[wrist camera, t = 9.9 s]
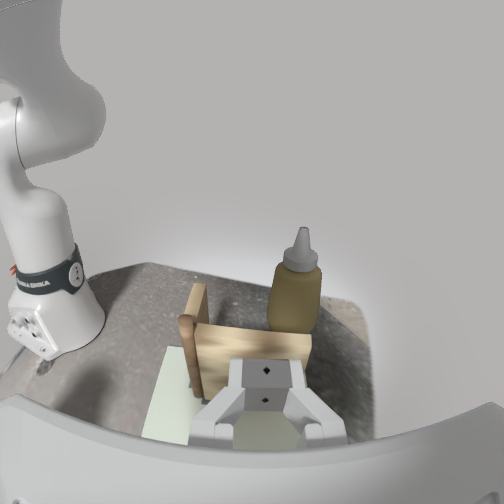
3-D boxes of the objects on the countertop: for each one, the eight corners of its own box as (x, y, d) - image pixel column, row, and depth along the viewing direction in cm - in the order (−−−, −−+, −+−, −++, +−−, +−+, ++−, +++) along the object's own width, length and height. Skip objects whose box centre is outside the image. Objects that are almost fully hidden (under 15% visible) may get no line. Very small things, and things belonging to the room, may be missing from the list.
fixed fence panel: (194, 387, 32) (181, 321, 27) (201, 350, 39) (193, 283, 33) (205, 388, 32) (195, 322, 27) (211, 350, 39) (206, 283, 33)
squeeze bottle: (300, 357, 39) (321, 248, 30) (255, 336, 42) (260, 230, 34) (321, 327, 44) (342, 227, 36) (280, 310, 48) (290, 213, 40)
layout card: (134, 470, 21) (125, 462, 20) (168, 348, 39) (165, 334, 38) (317, 483, 21) (324, 476, 20) (301, 354, 39) (304, 341, 38)
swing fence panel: (192, 397, 31) (175, 322, 25) (195, 388, 32) (180, 312, 26) (293, 410, 30) (313, 338, 23) (293, 400, 31) (312, 327, 25)
